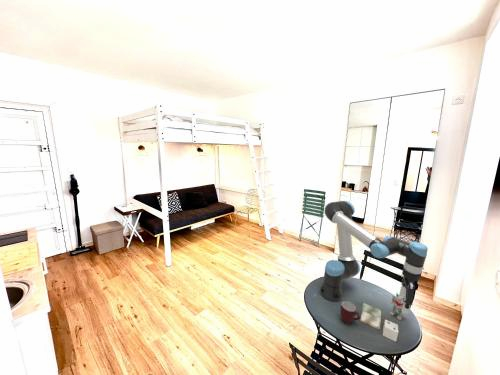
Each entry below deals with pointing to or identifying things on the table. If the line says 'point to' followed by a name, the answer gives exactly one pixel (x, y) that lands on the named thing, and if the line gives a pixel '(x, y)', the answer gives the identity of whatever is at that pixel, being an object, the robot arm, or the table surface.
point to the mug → (348, 312)
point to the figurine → (397, 305)
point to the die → (390, 330)
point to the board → (371, 316)
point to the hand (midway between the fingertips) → (403, 304)
